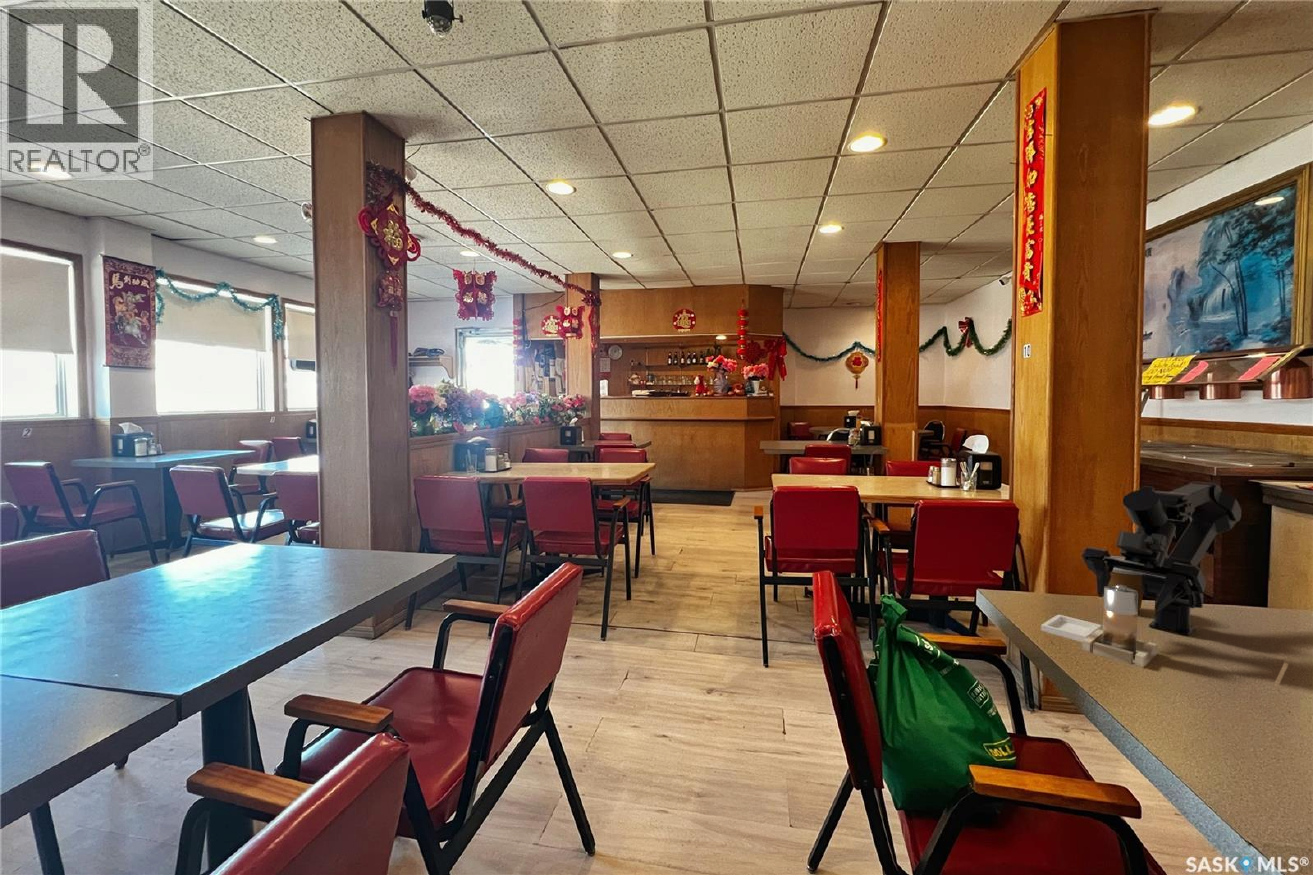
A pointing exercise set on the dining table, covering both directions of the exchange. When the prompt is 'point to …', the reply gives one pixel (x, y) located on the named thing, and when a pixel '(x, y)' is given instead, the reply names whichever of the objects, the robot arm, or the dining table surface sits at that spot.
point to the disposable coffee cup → (1128, 581)
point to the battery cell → (1120, 617)
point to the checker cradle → (1120, 650)
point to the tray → (1070, 627)
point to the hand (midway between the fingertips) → (1126, 602)
